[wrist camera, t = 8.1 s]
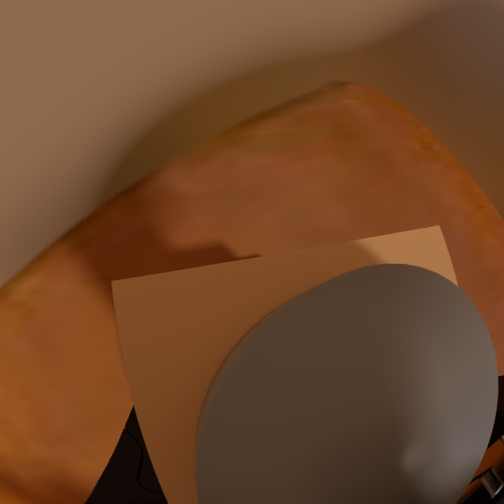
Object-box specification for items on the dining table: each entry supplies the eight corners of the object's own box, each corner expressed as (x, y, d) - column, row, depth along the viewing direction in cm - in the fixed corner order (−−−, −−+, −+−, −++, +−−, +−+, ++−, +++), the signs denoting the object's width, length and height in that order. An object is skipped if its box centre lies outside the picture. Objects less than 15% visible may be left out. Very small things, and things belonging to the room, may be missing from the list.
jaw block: (279, 390, 15) (505, 478, 2) (200, 409, 14) (224, 624, 1) (262, 315, 16) (474, 204, 3) (182, 330, 15) (82, 258, 2)
